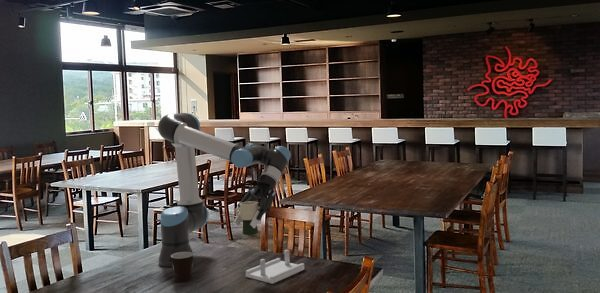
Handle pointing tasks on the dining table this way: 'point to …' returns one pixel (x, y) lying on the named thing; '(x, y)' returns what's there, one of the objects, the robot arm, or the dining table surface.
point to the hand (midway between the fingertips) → (244, 225)
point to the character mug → (248, 216)
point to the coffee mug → (182, 266)
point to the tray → (274, 269)
